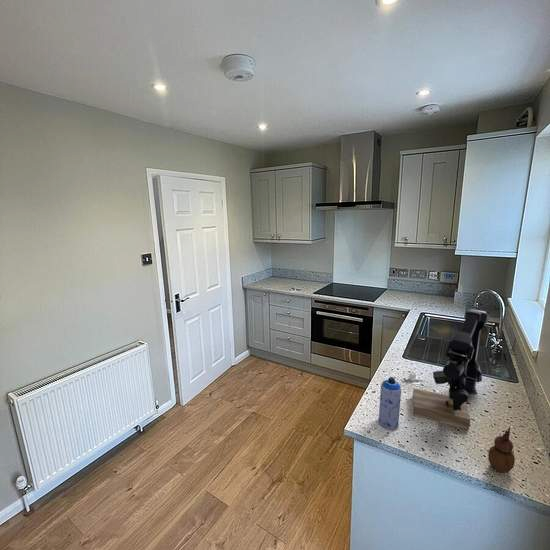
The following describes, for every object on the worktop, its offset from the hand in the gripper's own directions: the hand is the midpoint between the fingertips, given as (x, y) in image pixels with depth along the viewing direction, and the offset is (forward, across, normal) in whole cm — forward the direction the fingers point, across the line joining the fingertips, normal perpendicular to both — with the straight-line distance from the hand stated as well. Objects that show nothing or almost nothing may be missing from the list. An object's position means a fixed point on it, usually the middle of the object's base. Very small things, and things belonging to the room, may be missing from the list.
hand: (453, 403), depth 122 cm
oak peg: (+4, 0, 0) cm, 5 cm away
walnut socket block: (+6, 0, -5) cm, 7 cm away
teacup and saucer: (+6, -21, -13) cm, 25 cm away
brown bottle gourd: (+6, +24, +11) cm, 27 cm away
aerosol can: (+6, +16, -24) cm, 29 cm away
